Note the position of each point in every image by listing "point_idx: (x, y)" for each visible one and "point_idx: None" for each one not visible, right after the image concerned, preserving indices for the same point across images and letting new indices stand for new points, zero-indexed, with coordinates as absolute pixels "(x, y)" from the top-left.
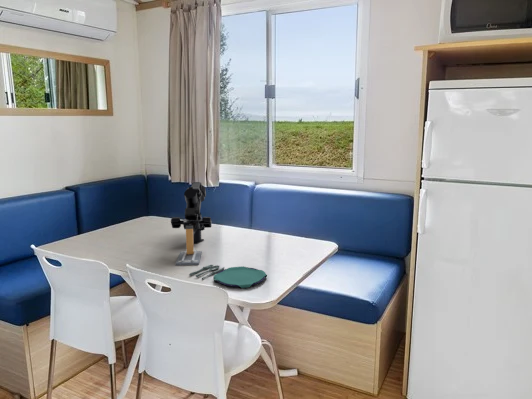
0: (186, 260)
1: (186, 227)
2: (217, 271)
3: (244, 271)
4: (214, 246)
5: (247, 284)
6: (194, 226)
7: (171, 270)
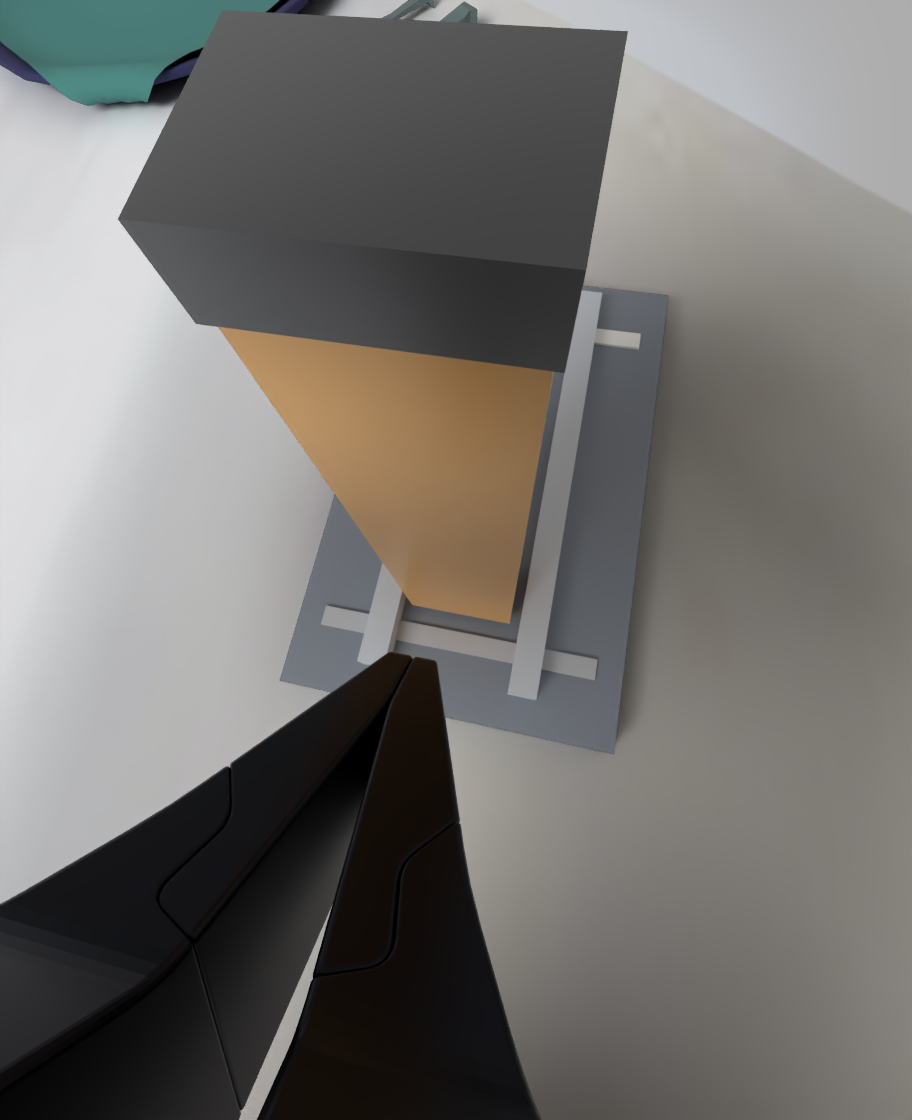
0: None
1: (561, 75)
2: None
3: (78, 39)
4: None
5: None
6: (17, 934)
7: (695, 200)
